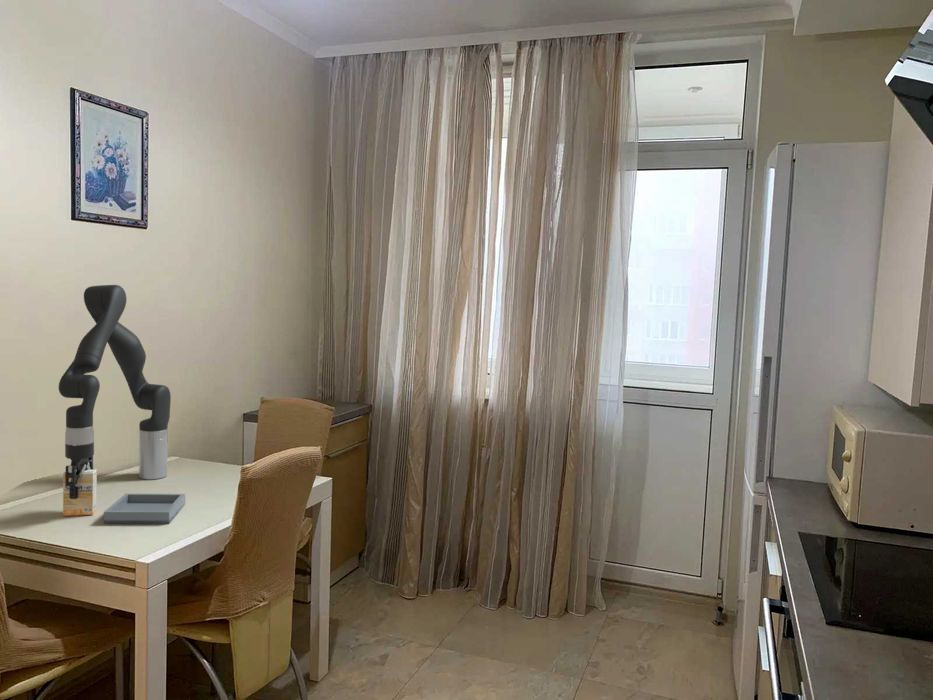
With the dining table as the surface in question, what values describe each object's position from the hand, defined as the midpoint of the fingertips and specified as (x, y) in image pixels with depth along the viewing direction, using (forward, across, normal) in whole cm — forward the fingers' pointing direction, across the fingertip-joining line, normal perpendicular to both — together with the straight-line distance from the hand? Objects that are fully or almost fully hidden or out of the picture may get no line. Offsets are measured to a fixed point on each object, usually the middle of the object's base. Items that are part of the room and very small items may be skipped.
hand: (79, 494), depth 212 cm
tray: (+6, 0, +19) cm, 20 cm away
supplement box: (+6, 0, 0) cm, 6 cm away
